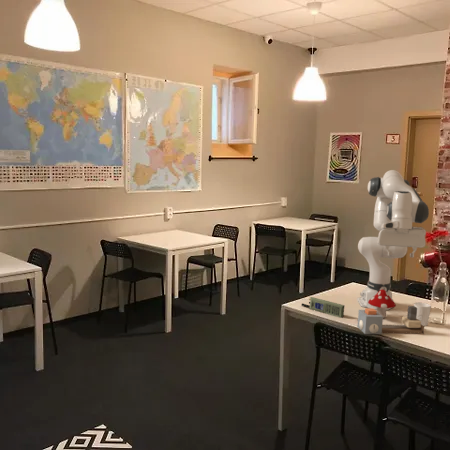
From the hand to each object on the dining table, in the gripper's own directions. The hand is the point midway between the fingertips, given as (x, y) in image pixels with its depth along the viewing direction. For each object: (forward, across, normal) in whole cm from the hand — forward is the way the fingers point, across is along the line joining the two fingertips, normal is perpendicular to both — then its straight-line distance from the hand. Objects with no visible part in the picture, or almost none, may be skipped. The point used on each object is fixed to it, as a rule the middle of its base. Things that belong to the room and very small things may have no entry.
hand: (400, 256), depth 218 cm
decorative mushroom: (+30, +2, -38) cm, 49 cm away
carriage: (+31, -10, -22) cm, 39 cm away
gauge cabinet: (+35, +10, -17) cm, 40 cm away
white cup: (+31, -17, -34) cm, 49 cm away
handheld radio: (+29, +32, -40) cm, 59 cm away
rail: (+34, -4, -21) cm, 40 cm away
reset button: (+28, +10, -15) cm, 33 cm away
